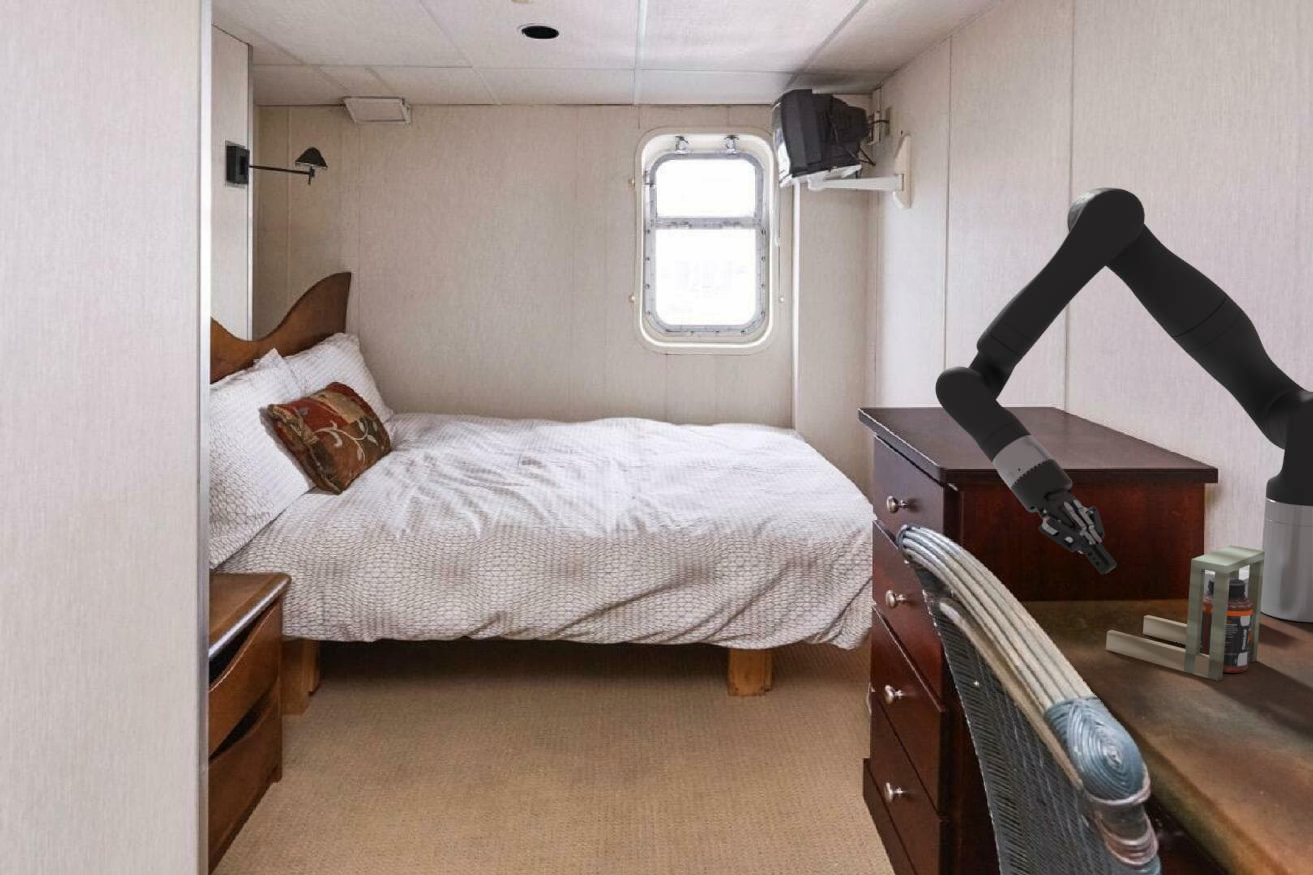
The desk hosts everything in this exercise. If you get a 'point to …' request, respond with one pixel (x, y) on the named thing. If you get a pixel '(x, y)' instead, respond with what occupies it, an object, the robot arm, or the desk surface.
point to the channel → (1199, 617)
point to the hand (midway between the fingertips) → (1109, 569)
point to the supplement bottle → (1230, 626)
